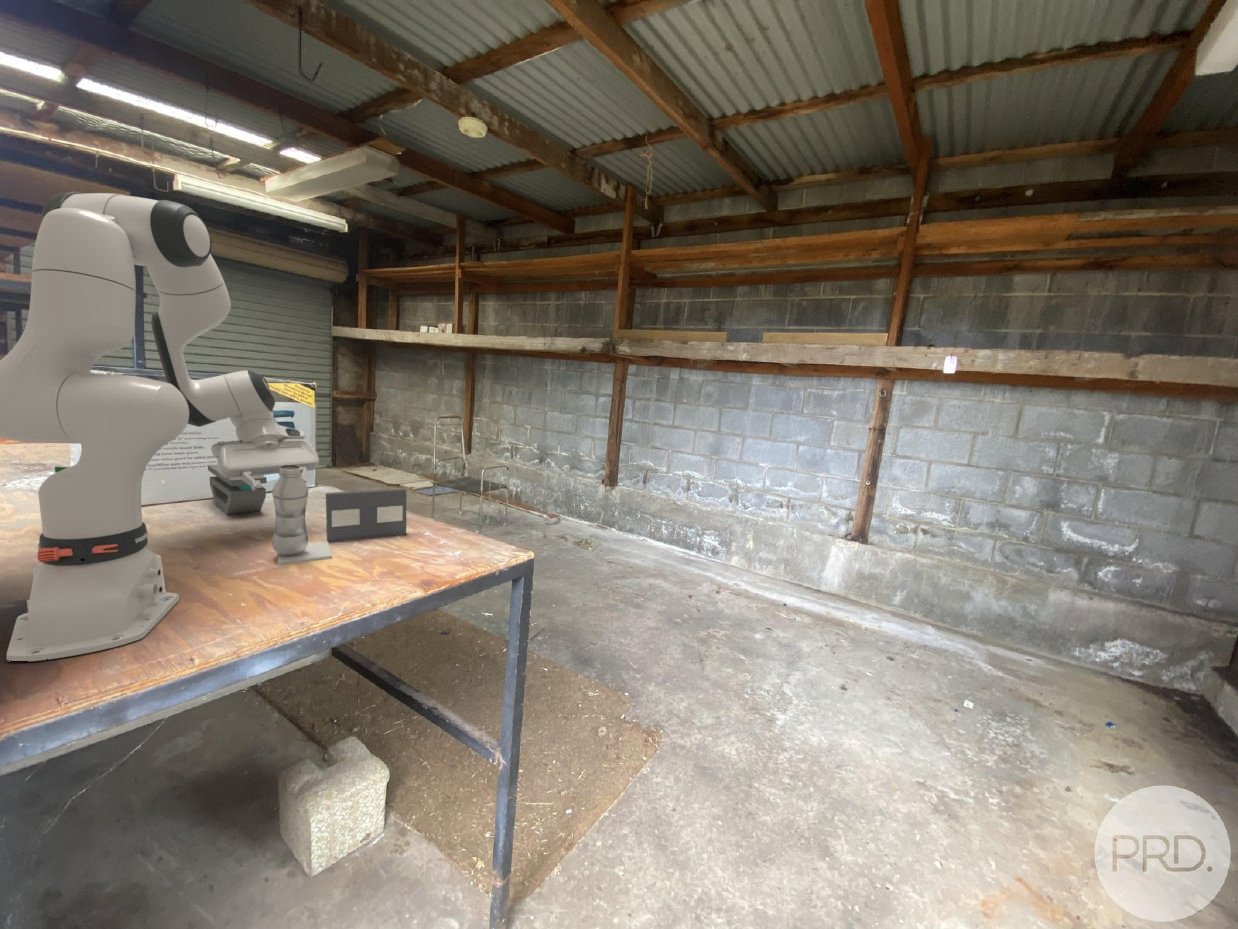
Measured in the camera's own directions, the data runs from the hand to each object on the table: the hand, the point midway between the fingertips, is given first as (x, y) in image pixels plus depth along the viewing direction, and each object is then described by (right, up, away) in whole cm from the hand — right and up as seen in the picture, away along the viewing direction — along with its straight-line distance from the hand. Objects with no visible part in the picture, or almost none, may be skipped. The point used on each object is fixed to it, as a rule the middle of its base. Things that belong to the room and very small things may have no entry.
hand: (280, 486), depth 118 cm
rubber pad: (+8, -15, -4) cm, 18 cm away
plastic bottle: (+7, -15, -7) cm, 17 cm away
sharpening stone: (-30, -8, +26) cm, 40 cm away
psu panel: (+16, -13, +9) cm, 23 cm away
